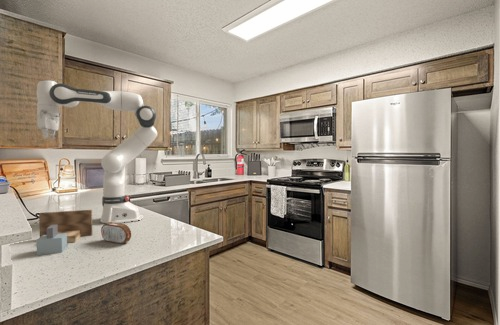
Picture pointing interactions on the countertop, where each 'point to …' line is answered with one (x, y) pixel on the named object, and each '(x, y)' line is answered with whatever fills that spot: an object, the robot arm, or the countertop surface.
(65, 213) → the brown wooden piece
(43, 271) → the countertop surface
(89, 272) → the countertop surface
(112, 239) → the tin
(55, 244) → the blue block with handle
